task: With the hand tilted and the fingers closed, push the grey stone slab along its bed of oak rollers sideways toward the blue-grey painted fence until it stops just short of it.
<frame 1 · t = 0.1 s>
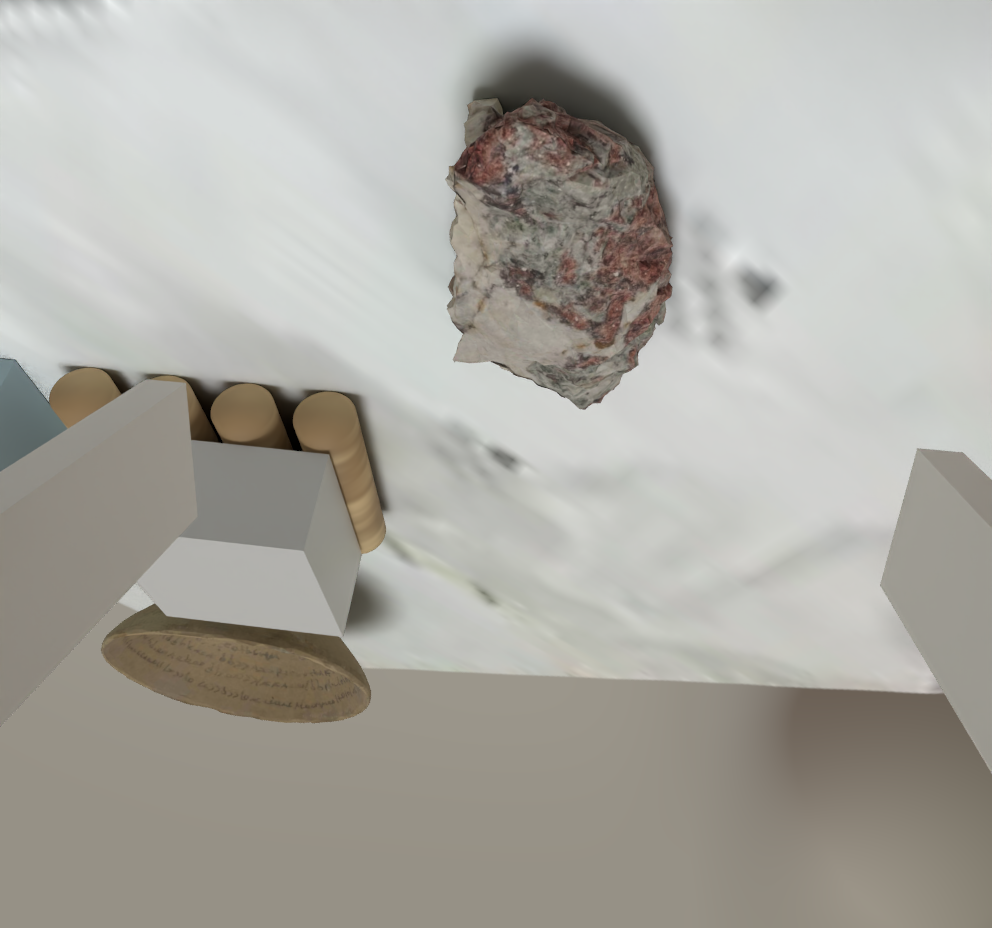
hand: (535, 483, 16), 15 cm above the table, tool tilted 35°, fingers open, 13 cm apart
roller bed: (242, 445, 47), on the table
fence: (50, 425, 48), on the table
mineral rock: (563, 233, 32), on the table
slab: (240, 542, 44), point 6 cm above the table, slide at 0.0 cm
bowl: (267, 580, 65), on the table
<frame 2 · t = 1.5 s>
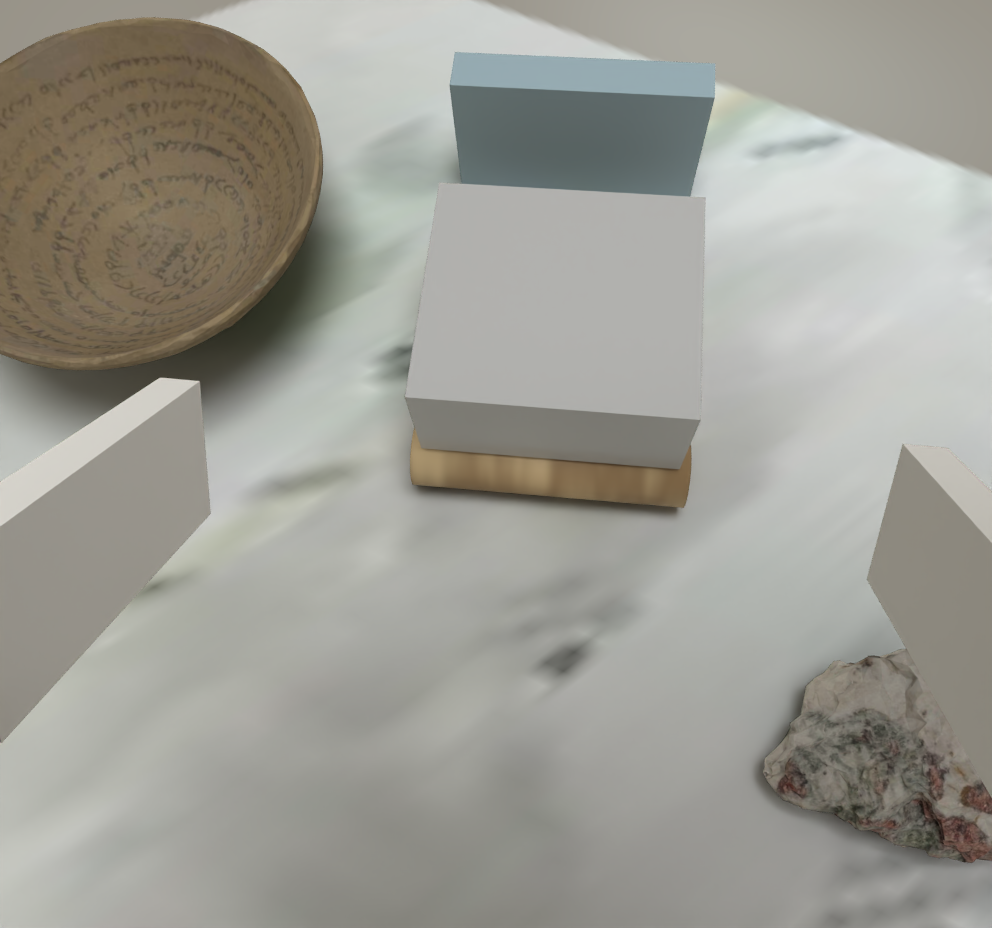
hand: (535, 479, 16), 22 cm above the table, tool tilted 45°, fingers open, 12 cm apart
roller bed: (559, 359, 42), on the table
fence: (575, 177, 46), on the table
mineral rock: (945, 751, 35), on the table
slab: (559, 326, 36), point 6 cm above the table, slide at 0.0 cm
bowl: (182, 275, 45), on the table
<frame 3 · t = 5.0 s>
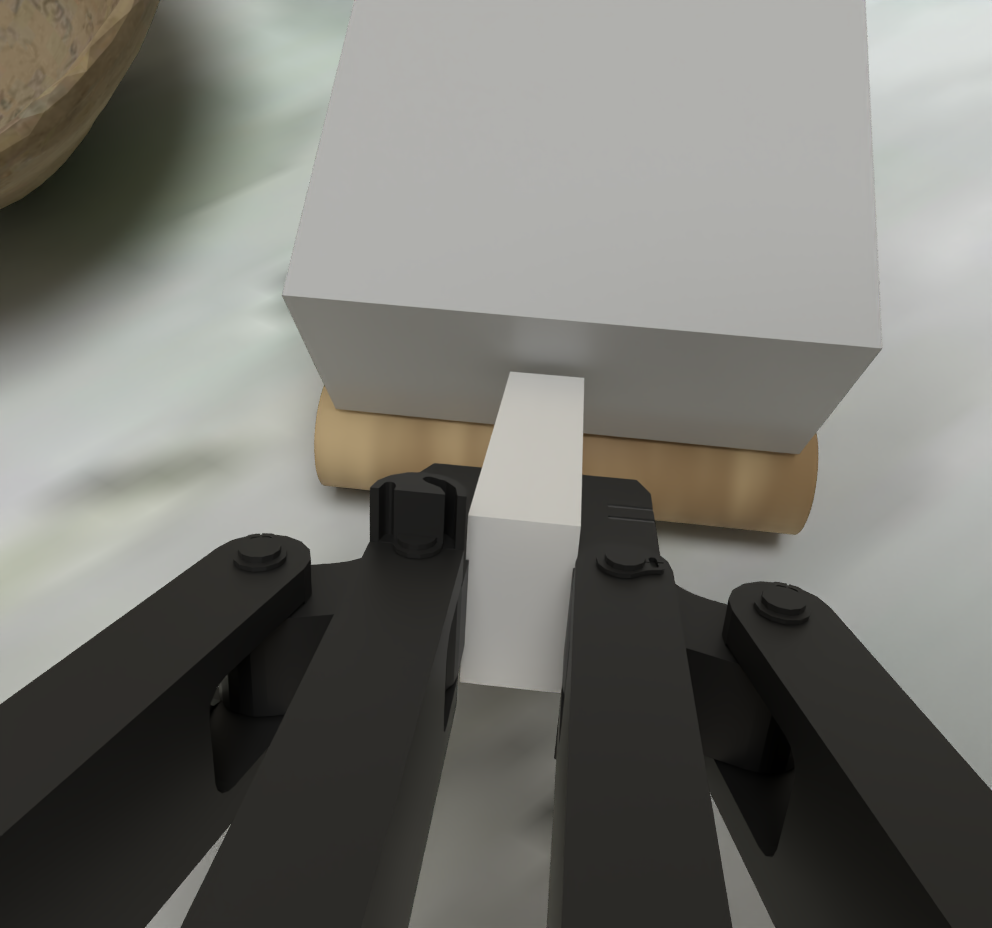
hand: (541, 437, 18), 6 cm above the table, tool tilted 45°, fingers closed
roller bed: (577, 285, 26), on the table
slab: (587, 190, 20), point 6 cm above the table, slide at 0.3 cm, touching gripper
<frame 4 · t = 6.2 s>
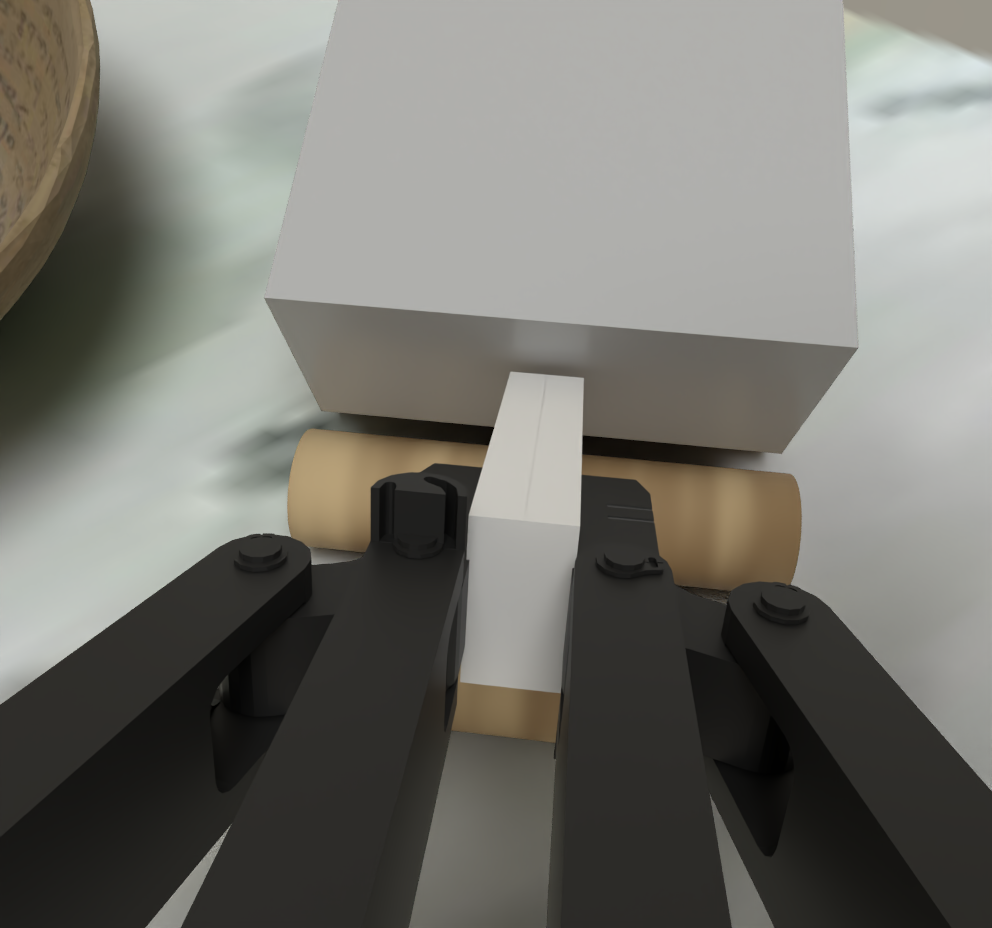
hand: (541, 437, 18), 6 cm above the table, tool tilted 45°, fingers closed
roller bed: (546, 459, 24), on the table
slab: (569, 192, 20), point 6 cm above the table, slide at 5.9 cm, touching gripper
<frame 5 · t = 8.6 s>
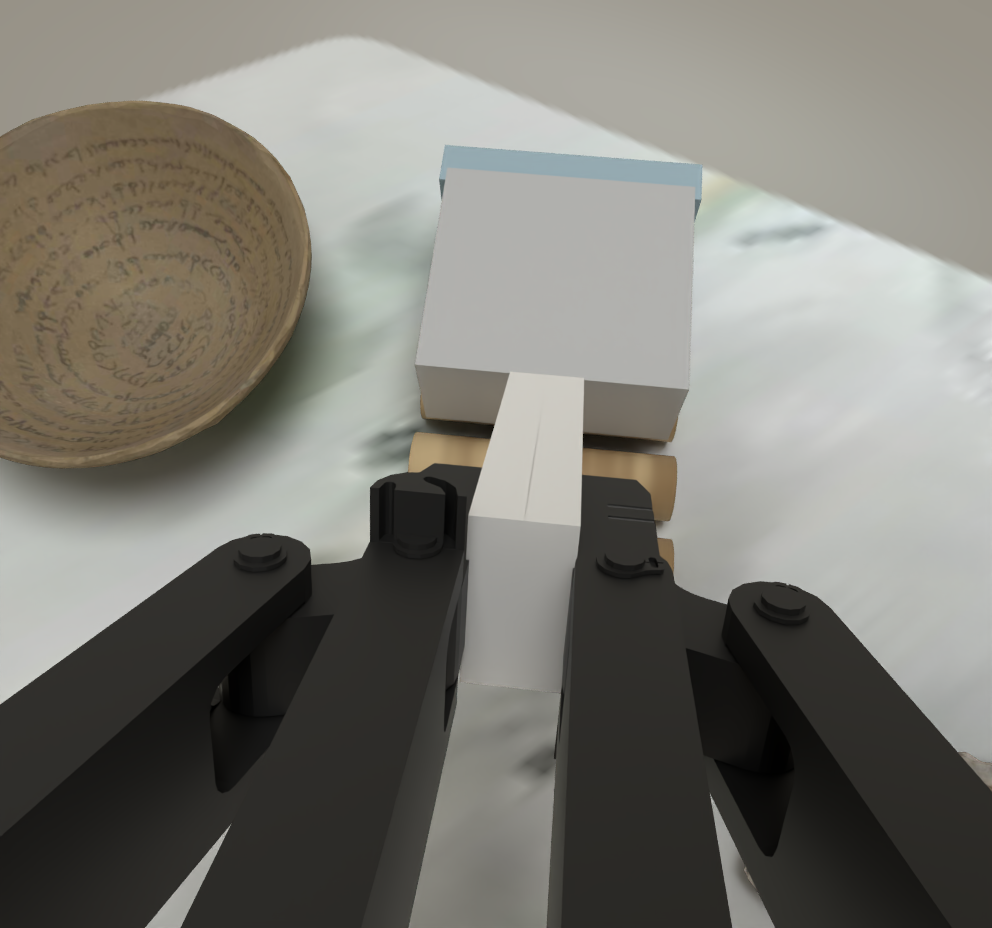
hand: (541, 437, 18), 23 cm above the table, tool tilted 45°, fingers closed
roller bed: (544, 449, 42), on the table
fence: (562, 261, 46), on the table
mineral rock: (923, 851, 36), on the table
slab: (557, 304, 39), point 6 cm above the table, slide at 6.2 cm
bowl: (166, 352, 45), on the table
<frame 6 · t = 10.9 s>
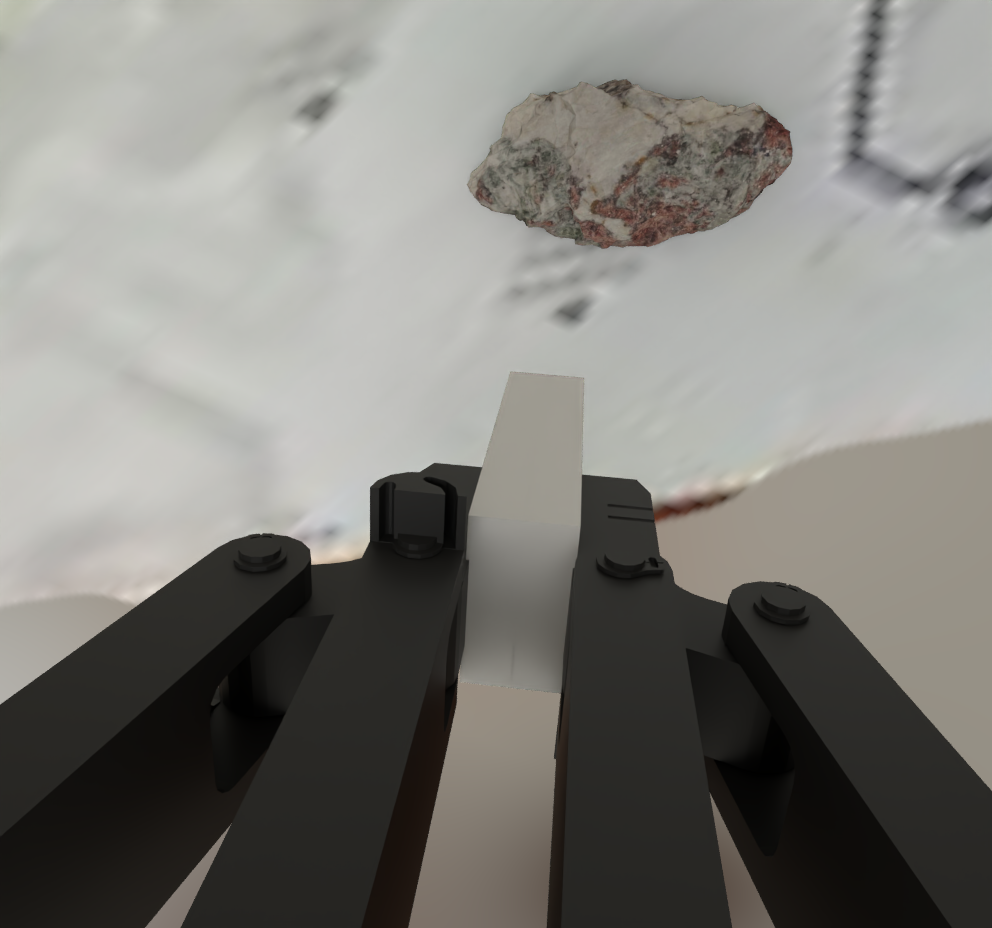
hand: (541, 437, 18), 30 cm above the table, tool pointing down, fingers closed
mineral rock: (621, 163, 45), on the table
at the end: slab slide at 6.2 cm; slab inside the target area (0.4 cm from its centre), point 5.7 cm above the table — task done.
